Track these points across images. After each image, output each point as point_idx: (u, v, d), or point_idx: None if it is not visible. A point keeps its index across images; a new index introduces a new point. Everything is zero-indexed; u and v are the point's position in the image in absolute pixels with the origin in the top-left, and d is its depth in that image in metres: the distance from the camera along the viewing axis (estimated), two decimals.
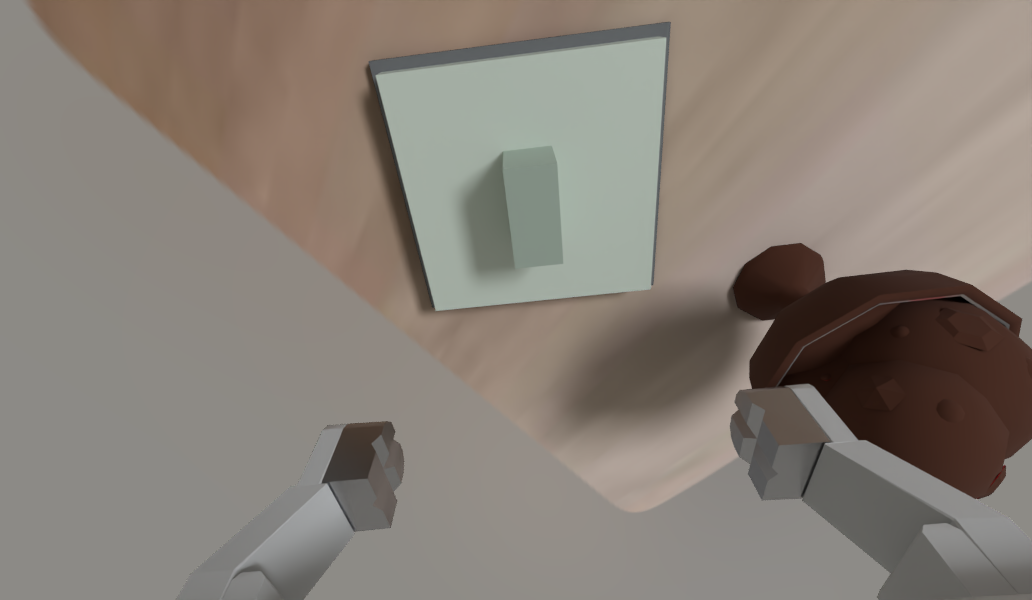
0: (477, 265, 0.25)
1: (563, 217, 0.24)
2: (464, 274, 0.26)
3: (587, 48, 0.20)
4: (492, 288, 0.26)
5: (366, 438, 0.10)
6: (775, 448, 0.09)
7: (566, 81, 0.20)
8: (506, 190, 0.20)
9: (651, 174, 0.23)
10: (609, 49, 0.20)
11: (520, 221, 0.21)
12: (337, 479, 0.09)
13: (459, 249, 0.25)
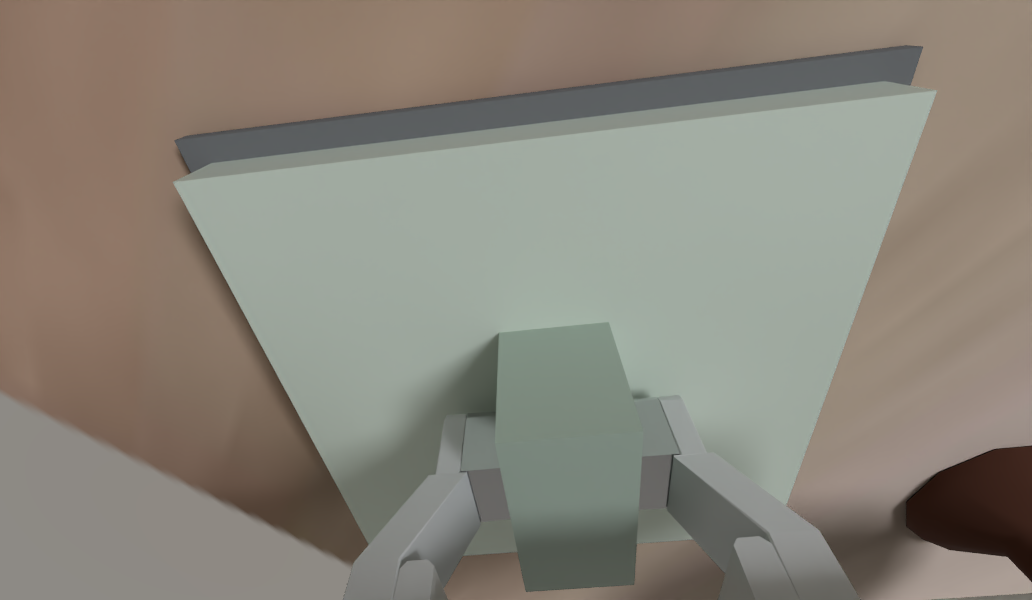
0: None
1: None
2: None
3: (719, 117, 0.07)
4: (479, 534, 0.14)
5: (493, 427, 0.10)
6: None
7: (656, 194, 0.08)
8: (505, 479, 0.08)
9: (820, 371, 0.10)
10: (779, 120, 0.07)
11: (538, 527, 0.09)
12: (476, 468, 0.09)
13: (413, 484, 0.13)
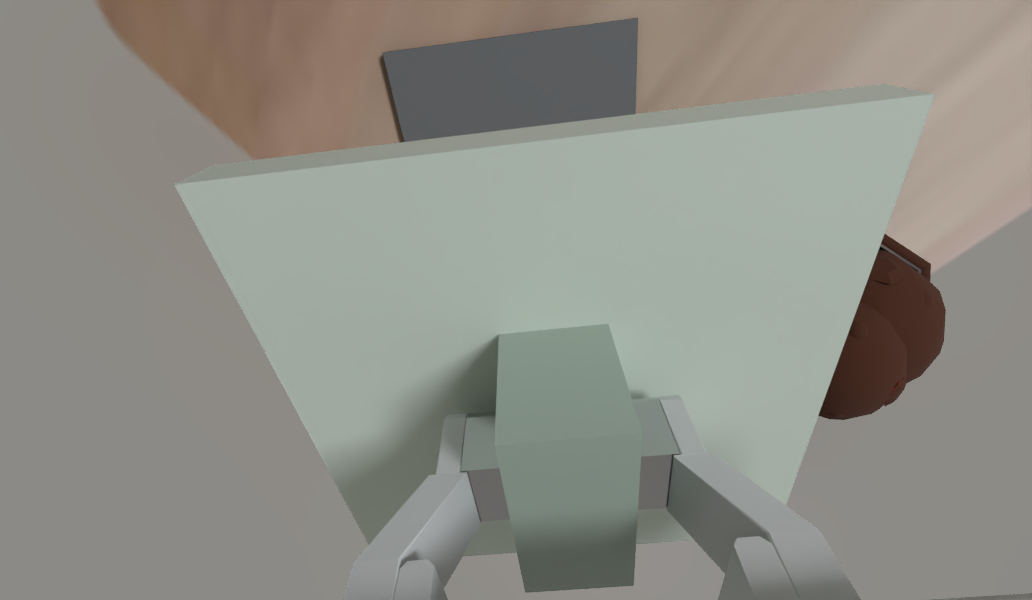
0: None
1: None
2: None
3: (718, 120, 0.07)
4: (479, 535, 0.14)
5: (493, 427, 0.10)
6: None
7: (655, 197, 0.08)
8: (505, 481, 0.08)
9: (819, 373, 0.10)
10: (778, 124, 0.07)
11: (538, 528, 0.09)
12: (476, 468, 0.09)
13: (413, 485, 0.13)
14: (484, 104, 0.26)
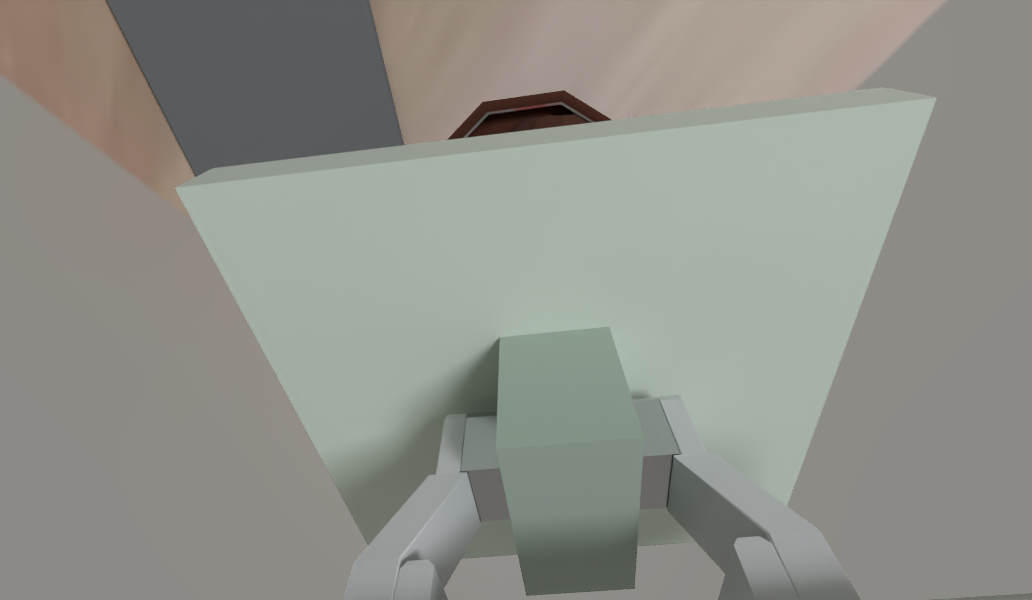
0: None
1: None
2: None
3: (719, 124, 0.07)
4: (479, 537, 0.14)
5: (493, 427, 0.10)
6: None
7: (656, 200, 0.08)
8: (506, 484, 0.08)
9: (820, 375, 0.10)
10: (779, 127, 0.07)
11: (539, 532, 0.09)
12: (476, 468, 0.09)
13: (413, 488, 0.13)
14: None
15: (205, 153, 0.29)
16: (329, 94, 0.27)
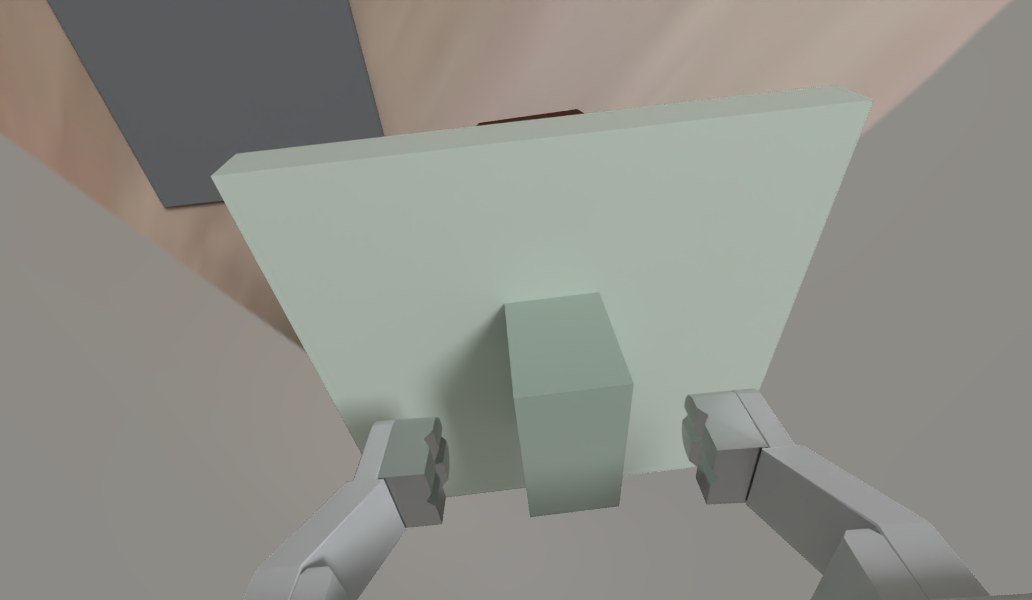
0: (456, 453, 0.15)
1: None
2: None
3: (698, 120, 0.09)
4: (480, 476, 0.16)
5: (417, 434, 0.10)
6: (714, 453, 0.09)
7: (643, 184, 0.09)
8: (520, 426, 0.09)
9: (772, 328, 0.12)
10: (747, 123, 0.09)
11: (544, 464, 0.10)
12: (393, 474, 0.09)
13: None
14: None
15: (168, 173, 0.25)
16: (306, 107, 0.24)
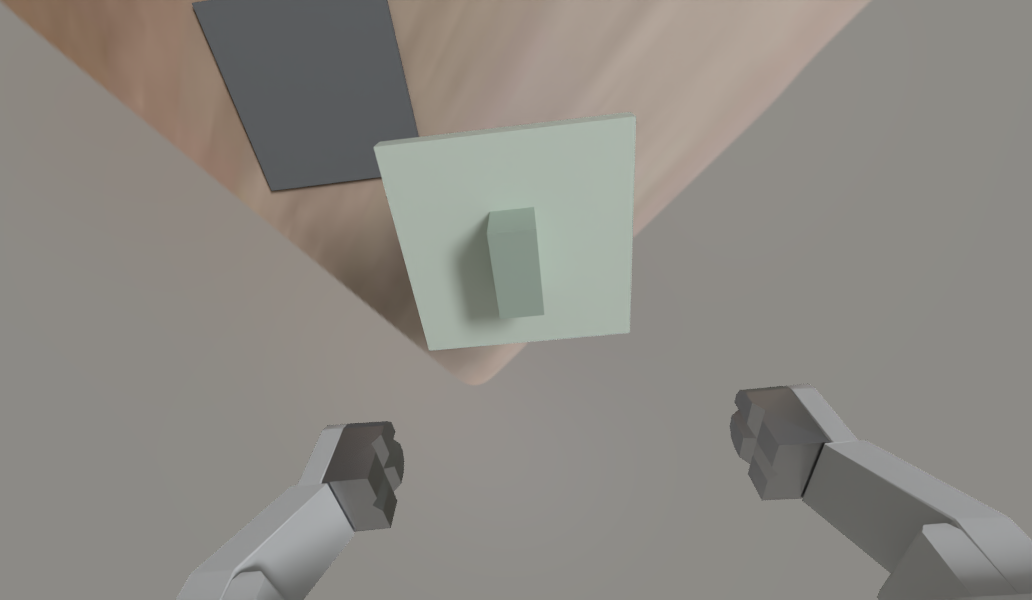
0: (467, 310, 0.27)
1: (546, 269, 0.26)
2: (455, 318, 0.28)
3: (564, 124, 0.22)
4: (481, 331, 0.28)
5: (366, 438, 0.10)
6: (775, 448, 0.09)
7: (546, 152, 0.22)
8: (490, 252, 0.22)
9: (626, 232, 0.25)
10: (585, 126, 0.22)
11: (503, 278, 0.23)
12: (337, 479, 0.09)
13: (450, 296, 0.27)
14: (278, 44, 0.34)
15: (277, 167, 0.38)
16: (370, 123, 0.37)
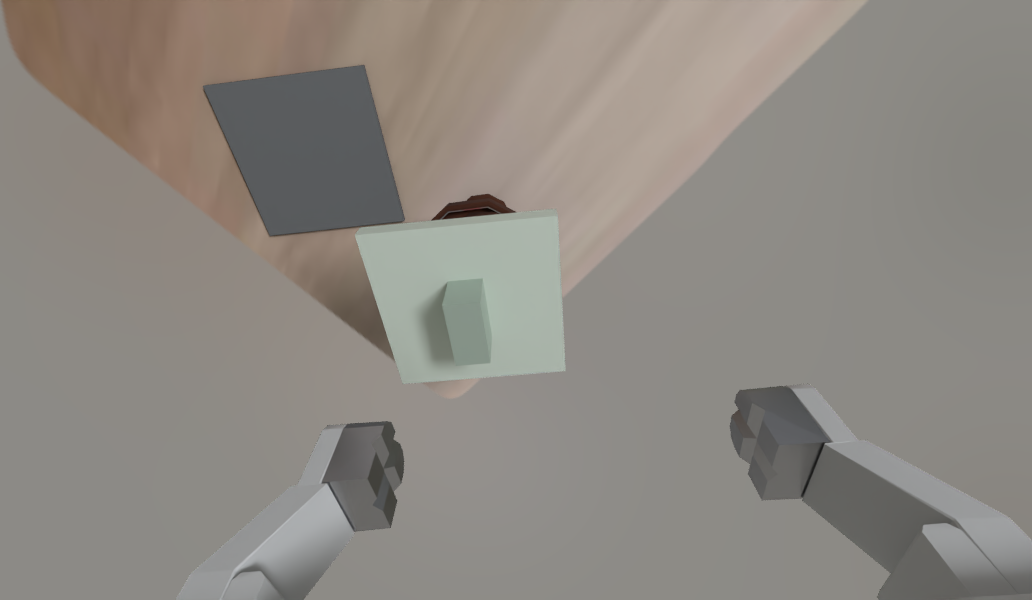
0: (432, 353, 0.34)
1: (495, 323, 0.32)
2: (423, 360, 0.34)
3: (503, 220, 0.28)
4: (444, 369, 0.35)
5: (366, 438, 0.10)
6: (775, 448, 0.09)
7: (490, 240, 0.29)
8: (445, 318, 0.28)
9: (556, 297, 0.31)
10: (519, 222, 0.28)
11: (457, 336, 0.29)
12: (337, 479, 0.09)
13: (418, 343, 0.33)
14: (277, 119, 0.39)
15: (274, 217, 0.44)
16: (355, 182, 0.43)
